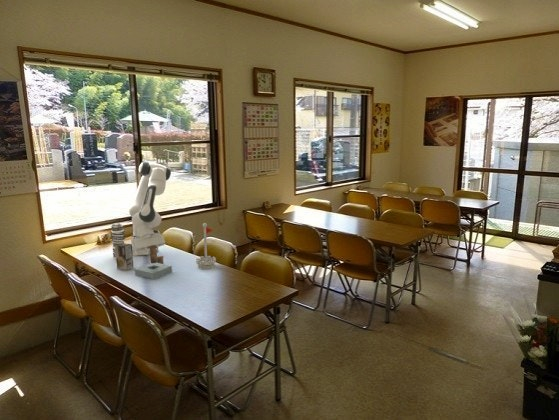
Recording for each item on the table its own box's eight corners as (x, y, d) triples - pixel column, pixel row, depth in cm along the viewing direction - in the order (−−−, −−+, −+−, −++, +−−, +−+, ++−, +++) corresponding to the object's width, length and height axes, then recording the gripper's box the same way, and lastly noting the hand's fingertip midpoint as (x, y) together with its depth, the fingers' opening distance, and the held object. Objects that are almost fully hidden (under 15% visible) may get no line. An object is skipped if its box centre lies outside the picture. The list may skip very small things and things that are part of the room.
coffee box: (134, 267, 271) (132, 244, 268) (126, 270, 265) (125, 246, 262) (123, 265, 275) (122, 242, 271) (116, 268, 269) (114, 244, 266)
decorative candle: (123, 259, 288) (120, 225, 283) (110, 259, 288) (107, 225, 283) (128, 255, 297) (125, 222, 292) (115, 255, 297) (113, 222, 292)
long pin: (149, 262, 257) (148, 246, 255) (154, 261, 260) (152, 244, 258) (154, 263, 255) (152, 246, 253) (158, 261, 258) (157, 245, 256)
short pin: (156, 266, 273) (155, 257, 271) (160, 264, 276) (159, 255, 275) (160, 267, 271) (159, 257, 270) (164, 265, 274) (164, 256, 273)
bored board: (135, 275, 256) (134, 269, 255) (153, 267, 270) (153, 262, 269) (153, 279, 248) (153, 273, 248) (172, 271, 262) (171, 265, 261)
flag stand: (197, 270, 265) (195, 225, 259) (195, 264, 277) (194, 221, 271) (217, 268, 268) (215, 224, 262) (214, 262, 280) (213, 220, 275)
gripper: (131, 235, 252) (139, 253, 247) (161, 229, 266) (169, 247, 261) (128, 241, 256) (136, 259, 251) (158, 235, 270) (166, 252, 265)
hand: (153, 253), depth 256 cm, fingers closed on long pin, 4 cm apart
